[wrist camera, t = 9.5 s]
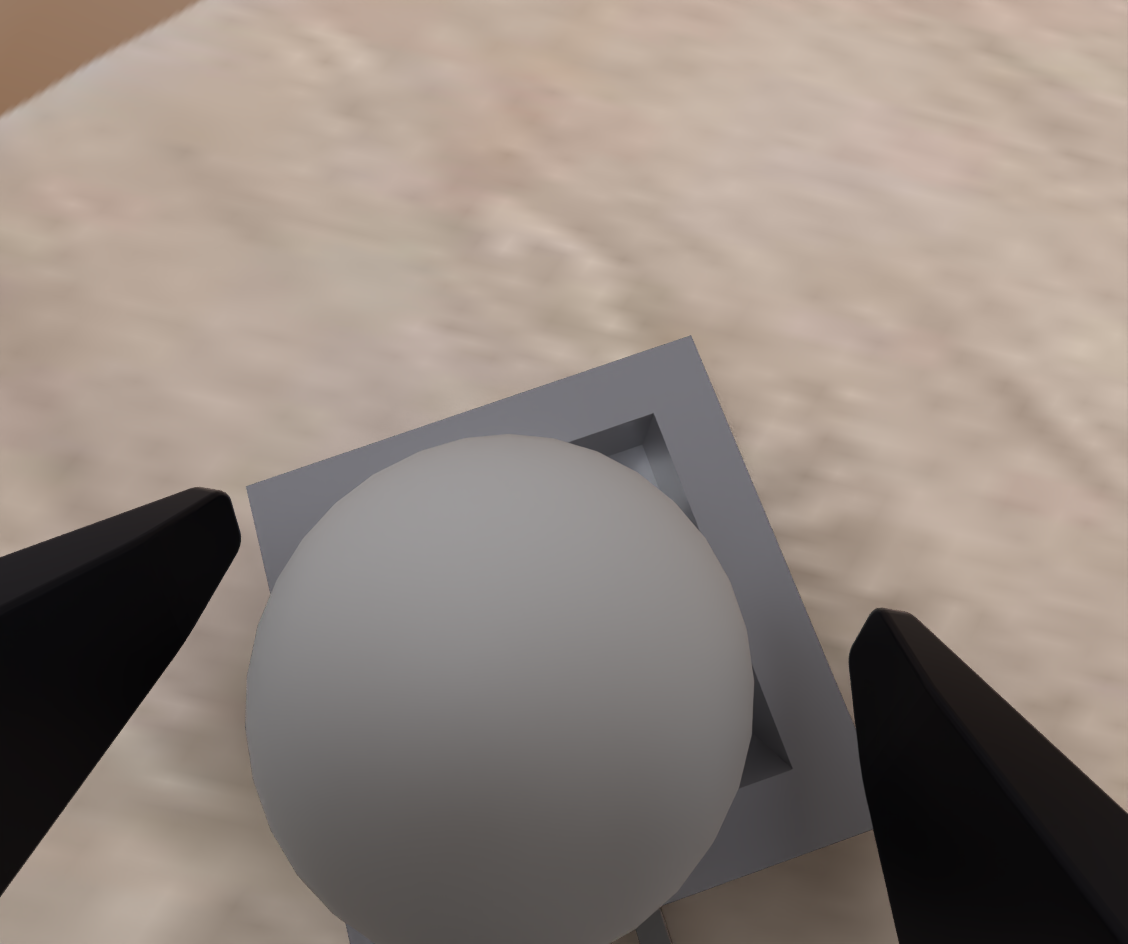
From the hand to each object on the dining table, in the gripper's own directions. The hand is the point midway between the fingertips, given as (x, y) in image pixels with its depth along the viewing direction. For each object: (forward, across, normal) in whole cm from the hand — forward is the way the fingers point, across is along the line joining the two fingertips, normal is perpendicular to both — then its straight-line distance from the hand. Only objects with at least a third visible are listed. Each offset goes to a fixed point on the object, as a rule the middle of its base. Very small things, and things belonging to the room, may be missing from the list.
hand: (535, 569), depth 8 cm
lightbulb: (+5, 0, +7) cm, 8 cm away
